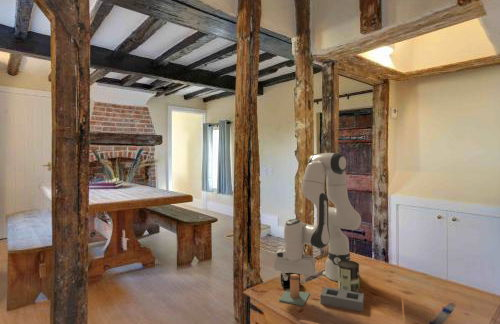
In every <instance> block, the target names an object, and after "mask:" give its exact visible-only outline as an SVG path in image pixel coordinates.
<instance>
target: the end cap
mask: <svg viewBox="0 0 500 324" xmlns="http://www.w3.org/2000/svg"><path fill="white" fill-rule="evenodd" d="M285 274H286V276H288V280H287V281H286V280H284V277H283V275H282V273H281V272H280V284H281V286H282V289H283V290H287V289H290V275H292V274H296V273H289V272H285ZM297 275H299V290H300V289H301V284H302V282H301V274H297Z"/></svg>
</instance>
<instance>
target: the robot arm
mask: <svg viewBox="0 0 500 324" xmlns="http://www.w3.org/2000/svg"><path fill="white" fill-rule="evenodd" d="M347 165H348V161H347V157H346V156H345V155H344V154H343V153H340V152H322V153H314V154H311V155H310V156H309V157H308V159H307V165H306V168H305V171H304V173H303V174H304V175H303V177H302V178H303V179H302V184H301V193H302V194H303V196H304V197H305V199H307V200H308V201H310V202H311V203H312V204H314V206H315V208H316V225H313V224H308V223H305V222H302V221H301V219H298V218H291V219H287V221H285V224H284V232H283V239H284V247H283V248H279V249H277V251H276V252H275V255H274V256H275V257H274V259H273V269H274V270H275V271H276V272H278V271H279V272H280V274H281V273H282V275H283V277H284V280H286V281H287V280H288V276H286V274H285V273H296V274H300V275H302V276H303V277H304V278H302V279H301V284H306V282H307V281H306V279H307V277H309V276H311V277H314V275H315V274H316V258H315V257H314V256H312V255H308V254H304V246H303V244H305V245H308V246H312V247H314V248H317V249H319V250H320V249H323V248H325V247H326V246H327V245H328V251H327V259H326V260H325V270H323V272H322V275H323V276H325V277H326V278H328V280H330V281H331V280H332V281H334V282H338V262H339V261H343V260H349V261H352V260H351V252H350V240H349V237H348V236H347V235H346V234H345V233H344V232H343V231H342V229H343V230H347V231H348V230H357V229H359V227H361V224H362V217H361V214H360V213H359V212H358V211H357V210H356V209H355V208H354V207H353V206H352V204H351V202H350V199H349V195H348V194H349V193H348V182H347V181H348V180H347V175H346V174H347V173H346V169H347V167H348V166H347ZM325 180H326V183H325ZM325 185H326V191H325ZM325 192H326V193H325ZM329 201H330V202H331V203H332V204H334V205H333V206H334V207H331V206H329Z"/></svg>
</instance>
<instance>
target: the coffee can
mask: <svg viewBox="0 0 500 324" xmlns="http://www.w3.org/2000/svg"><path fill="white" fill-rule="evenodd" d="M337 282H338V284H337V285H338V289H341V290H347V291H353V292H359V293H360V264H359V262H356V261H354V260H351V261H349V260H343V261H339V262H338V281H337Z"/></svg>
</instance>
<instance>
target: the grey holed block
mask: <svg viewBox="0 0 500 324" xmlns="http://www.w3.org/2000/svg"><path fill="white" fill-rule="evenodd" d="M319 296H320V304H321V305H326V306H331V307H337V308H340V309H346V310H351V311H356V312H362V313H363V310H364V304H365V293H364V292H360V291H359V292H353V291H347V290H341V289H339V288H335V287H329V286H324V287H323V288H322V291H321V293H320V295H319Z"/></svg>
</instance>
